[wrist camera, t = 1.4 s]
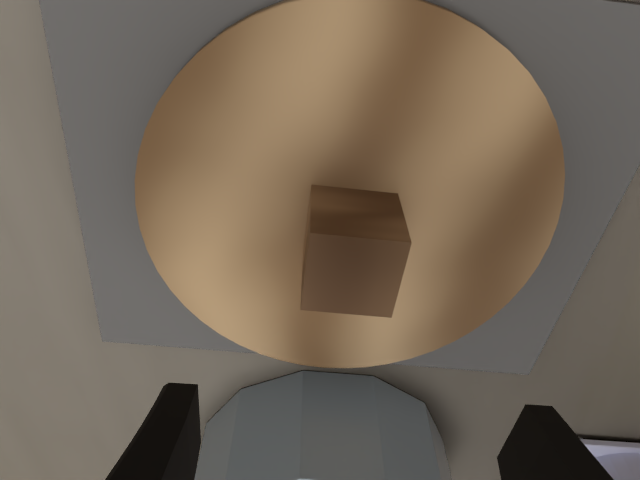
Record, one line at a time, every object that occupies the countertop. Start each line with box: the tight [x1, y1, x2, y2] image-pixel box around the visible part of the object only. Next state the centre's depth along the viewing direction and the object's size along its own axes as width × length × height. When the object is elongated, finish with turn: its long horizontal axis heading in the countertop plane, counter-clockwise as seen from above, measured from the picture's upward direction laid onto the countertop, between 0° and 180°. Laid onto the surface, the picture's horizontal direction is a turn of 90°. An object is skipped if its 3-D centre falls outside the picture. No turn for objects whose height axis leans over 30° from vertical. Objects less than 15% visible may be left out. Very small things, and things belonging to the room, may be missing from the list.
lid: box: [135, 0, 565, 368], centre depth 17 cm, size 15×15×4 cm
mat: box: [39, 0, 640, 375], centre depth 19 cm, size 20×16×1 cm
